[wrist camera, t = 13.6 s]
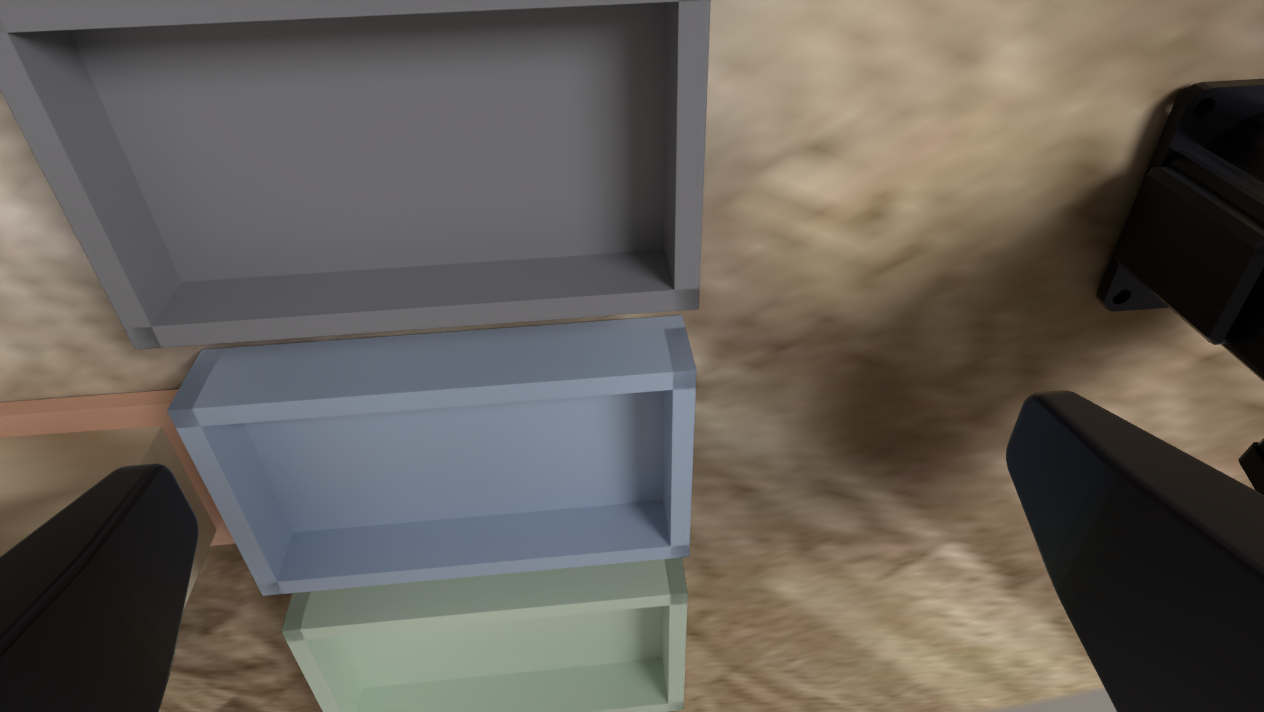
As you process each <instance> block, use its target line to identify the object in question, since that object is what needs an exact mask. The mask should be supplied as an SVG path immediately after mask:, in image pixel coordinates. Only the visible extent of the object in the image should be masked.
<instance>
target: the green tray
mask: <svg viewBox="0 0 1264 712" xmlns="http://www.w3.org/2000/svg"><path fill="white" fill-rule="evenodd" d="M687 600H688V591H687V586H686V580H685V575H684V569H683V563H682V558H670V559H659V560H649V561H638V562H627V563H616V564H605V565H594V566H583V567H572V568H561V569H550V570H539V571H528V572H517V573H507V574H496V575H485V576H474V577H463V578H452V579H441V580H430V581H419V582H408V583H397V584H386V585H375V586H364V587H354V588H343V589H332V590H321V591H310V592H299V593H292V596H291V600H290V603H289V606H288V610H287V613H286V617H285V620H284V623H283V627H282V630H281V632H282V634H283V636H284V638H285V640H286V642H287V644H288V645H289V647H290V649H291V651H292V653H293V655H294V657H295V659H296V661H297V663H298V665H299V667H300V669H301V671H302V672H303V674H304V676H305V678H306V680H307V682H308V684H309V686H310V688H311V690H312V692H313V694H314V696H315V697H316V699H317V701H318V703H319V705H320V707H321V709H322V711H323V712H667V711H677V710H683V704H684V678H685V652H686V626H687Z"/></svg>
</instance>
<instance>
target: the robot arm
mask: <svg viewBox="0 0 1264 712" xmlns="http://www.w3.org/2000/svg"><path fill="white" fill-rule="evenodd" d="M1203 99H1204V101H1203V103H1202V105H1201V106H1200V107H1199V108H1198V109H1197V110H1195V111H1194V108H1195V107H1196V105H1197V104H1198V103H1199V102H1200V101H1202V100H1203ZM1119 291H1120V293H1118V292H1119ZM1116 293H1118V294H1117V295H1115V294H1116ZM1096 297H1097V299H1098V301H1099V302H1100V303H1101V304H1102V305H1103V306H1104V307H1105V308H1106V309H1108V310H1109V311H1127V310H1141V309H1154V308H1168V307H1170V308H1171V309H1172V310H1173V311H1174V312H1175V313H1176V314H1178V315H1179V316H1180V317H1181V318H1182V319H1183V320H1184V321H1186V322H1187V323H1188V324H1189V325H1190V326H1191V327H1192V328H1194V329H1195V330H1196V331H1197V332H1198V333H1199V334H1200V335H1202V336H1203V337H1204V338H1205V339H1206V340H1207V341H1208V342H1210V343H1212V344H1214V345H1219V344H1221V345H1222V346H1223V347H1224V348H1226V349H1227V350H1228V351H1229V352H1230V353H1231V354H1232V355H1234V356H1235V357H1236V358H1237V359H1238V360H1239V361H1241V362H1242V363H1243V364H1244V365H1245V366H1246V367H1248V368H1249V369H1250V370H1251V371H1252V372H1253V373H1254V374H1256V375H1257V376H1258V377H1259V378H1260V379H1261V380H1263V381H1264V79H1252V80H1234V81H1216V82H1201V83H1197V84H1193V85H1192V86H1190V87H1188V88H1187V89H1185V90H1184V91H1183V92H1182V93H1181V94H1180V95H1179V96H1178V98H1177V100H1176V101H1175V103H1174V105H1173V108H1172V110H1171V113H1170V115H1169V118H1168V120H1167V122H1166V125H1165V127H1164V130H1163V132H1162V135H1161V137H1160V139H1159V142H1158V144H1157V147H1156V149H1155V152H1154V154H1153V156H1152V159H1151V161H1150V164H1149V166H1148V169H1147V171H1146V173H1145V176H1144V178H1143V181H1142V183H1141V186H1140V188H1139V190H1138V193H1137V195H1136V198H1135V200H1134V203H1133V205H1132V207H1131V210H1130V212H1129V215H1128V217H1127V220H1126V222H1125V225H1124V227H1123V229H1122V232H1121V234H1120V237H1119V239H1118V242H1117V244H1116V246H1115V249H1114V251H1113V254H1112V256H1111V259H1110V261H1109V263H1108V266H1107V268H1106V271H1105V273H1104V276H1103V278H1102V280H1101V283H1100V285H1099V288H1098V290H1097V295H1096ZM1238 460H1239V463H1240V465H1241V466H1242V468H1243V470H1244V471H1245V473H1246V475H1247V477H1248V478H1249V480H1250V482H1251V483H1252V485H1253V487H1254V488H1255V490H1256V491H1255V490H1253V489H1252V488H1250V487H1248V486H1246V485H1244V484H1242V483H1240V482H1239V481H1237V480H1235V479H1233V478H1231V477H1229V476H1228V475H1226V474H1224V473H1222V472H1220V471H1218V470H1216V469H1215V468H1213V467H1211V466H1209V465H1207V464H1205V463H1204V462H1202V461H1200V460H1198V459H1196V458H1194V457H1192V456H1191V455H1189V454H1187V453H1185V452H1183V451H1181V450H1179V449H1178V448H1176V447H1174V446H1172V445H1170V444H1168V443H1167V442H1165V441H1163V440H1161V439H1159V438H1157V437H1155V436H1154V435H1152V434H1150V433H1148V432H1146V431H1144V430H1143V429H1141V428H1139V427H1137V426H1135V425H1133V424H1131V423H1130V422H1128V421H1126V420H1124V419H1122V418H1120V417H1119V416H1117V415H1115V414H1113V413H1111V412H1109V411H1107V410H1106V409H1104V408H1102V407H1100V406H1098V405H1096V404H1095V403H1093V402H1091V401H1089V400H1087V399H1085V398H1083V397H1082V396H1080V395H1078V394H1076V393H1074V392H1071V391H1064V390H1062V391H1049V392H1037V393H1034V394H1031V395H1030V396H1029V397H1028V398H1027V399H1026V400H1025V401H1024V403H1023V406H1022V408H1021V411H1020V413H1019V416H1018V419H1017V421H1016V424H1015V427H1014V429H1013V432H1012V434H1011V437H1010V440H1009V442H1008V445H1007V450H1006V462H1007V467H1008V470H1009V473H1010V475H1011V478H1012V481H1013V483H1014V486H1015V488H1016V491H1017V494H1018V496H1019V499H1020V501H1021V504H1022V507H1023V509H1024V512H1025V514H1026V517H1027V520H1028V522H1029V525H1030V527H1031V530H1032V533H1033V535H1034V538H1035V540H1036V543H1037V546H1038V548H1039V551H1040V553H1041V556H1042V559H1043V561H1044V564H1045V566H1046V569H1047V571H1048V574H1049V576H1050V579H1051V581H1052V583H1053V586H1054V588H1055V590H1056V593H1057V595H1058V597H1059V599H1060V601H1061V603H1062V605H1063V607H1064V609H1065V611H1066V613H1067V615H1068V617H1069V619H1070V621H1071V623H1072V625H1073V627H1074V629H1075V631H1076V633H1077V635H1078V637H1079V639H1080V641H1081V642H1082V644H1083V646H1084V648H1085V650H1086V652H1087V654H1088V656H1089V658H1090V660H1091V662H1092V664H1093V666H1094V668H1095V670H1096V672H1097V674H1098V676H1099V677H1100V679H1101V681H1102V683H1103V685H1104V687H1105V689H1106V691H1107V693H1108V695H1109V697H1110V699H1111V701H1112V703H1113V705H1114V707H1115V708H1116V711H1117V712H1264V438H1263V439H1262V440H1261V441H1260V443H1259V442H1254V443H1253V444H1252V445H1251V446H1250V447H1249V448H1248V449H1247V450H1246V451H1245V452H1244V454H1243V455H1242V456H1241V457H1240V458H1239V459H1238ZM198 534H199V528H198V522H197V518H196V515H195V513H194V511H193V509H192V507H191V506H190V504H189V502H188V500H187V498H186V496H185V495H184V493H183V491H182V489H181V487H180V485H179V484H178V482H177V480H176V478H175V476H174V475H173V473H172V471H171V470H170V469H169V468H168V467H166V466H165V465H163V464H158V463H154V464H142V465H130V466H124V467H120V468H117V469H115V470H114V471H112V472H111V473H110V474H108V475H107V476H106V477H104V478H103V479H102V480H100V481H99V482H98V483H96V484H95V485H94V486H92V487H91V488H90V489H88V490H87V491H86V492H85V493H83V494H82V495H81V496H79V497H78V498H77V499H75V500H74V501H73V502H71V503H70V504H69V505H67V506H66V507H65V508H63V509H62V510H61V511H60V512H58V513H57V514H56V515H54V516H53V517H52V518H50V519H49V520H48V521H46V522H45V523H44V524H42V525H41V526H40V527H38V528H37V529H36V530H34V531H33V532H32V533H31V534H29V535H28V536H27V537H25V538H24V539H23V540H21V541H20V542H19V543H17V544H16V545H15V546H13V547H12V548H11V549H9V550H8V551H7V552H6V553H4V554H3V555H2V556H0V712H159V708H160V705H161V702H162V699H163V696H164V692H165V689H166V686H167V682H168V679H169V675H170V671H171V667H172V662H173V658H174V654H175V649H176V644H177V639H178V634H179V630H180V625H181V620H182V615H183V610H184V605H185V601H186V596H187V591H188V586H189V581H190V576H191V572H192V567H193V562H194V557H195V552H196V547H197V542H198Z"/></svg>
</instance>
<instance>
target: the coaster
mask: <svg viewBox="0 0 1264 712" xmlns="http://www.w3.org/2000/svg"><path fill="white" fill-rule="evenodd" d="M178 390H179V389H175V390H162V391H149V392H135V393H122V394H109V395H95V396H82V397H68V398H55V399H42V400H28V401H15V402H2V403H0V438H3V437H16V436H30V435H43V434H57V433H70V432H83V431H97V430H110V429H123V428H137V427H150V426H162V427H163V429H164V431H165V433H166V435H167V437H168V439H169V440H170V442H171V444H172V446H173V448H174V450H175V452H176V454H177V456H178V458H179V459H180V461H181V463H182V465H183V467H184V469H185V471H186V473H187V475H188V476H189V478H190V480H191V482H192V484H193V486H194V488H195V490H196V492H197V494H198V495H199V497H200V499H201V501H202V503H203V505H204V507H205V509H206V511H207V513H208V514H209V516H210V518H211V520H212V522H213V524H214V526H215V528H216V530H217V531H216V533H215V536H214V538H213V540H212V543H211V545H210V546H216V545H227V544H236V543H235V541H234V539H233V538H232V536H231V534H230V532H229V530H228V528H227V526H226V524H225V522H224V520H223V518H222V516H221V514H220V512H219V511H218V509H217V507H216V505H215V503H214V501H213V499H212V497H211V495H210V493H209V491H208V489H207V487H206V485H205V484H204V482H203V480H202V478H201V476H200V474H199V472H198V470H197V468H196V466H195V464H194V462H193V460H192V458H191V457H190V455H189V453H188V451H187V449H186V447H185V445H184V443H183V441H182V439H181V437H180V435H179V433H178V431H177V430H176V428H175V426H174V424H173V422H172V420H171V418H170V416H169V414H168V412H167V409H168V408H169V406H170V404H171V402H172V401H173V399H174V397H175V395H176V393H177V392H178Z"/></svg>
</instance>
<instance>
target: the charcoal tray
mask: <svg viewBox="0 0 1264 712" xmlns="http://www.w3.org/2000/svg"><path fill="white" fill-rule="evenodd" d="M710 3H711V0H0V90H1V92H2V94H3V96H4V98H5V100H6V102H7V104H8V106H9V108H10V110H11V112H12V113H13V115H14V117H15V119H16V121H17V123H18V125H19V127H20V129H21V131H22V133H23V135H24V137H25V139H26V140H27V142H28V144H29V146H30V148H31V150H32V152H33V154H34V156H35V158H36V160H37V162H38V164H39V165H40V167H41V169H42V171H43V173H44V175H45V177H46V179H47V181H48V183H49V185H50V187H51V189H52V191H53V192H54V194H55V196H56V198H57V200H58V202H59V204H60V206H61V208H62V210H63V212H64V214H65V216H66V218H67V219H68V221H69V223H70V225H71V227H72V229H73V231H74V233H75V235H76V237H77V239H78V241H79V243H80V245H81V246H82V248H83V250H84V252H85V254H86V256H87V258H88V260H89V262H90V264H91V266H92V268H93V270H94V272H95V273H96V275H97V277H98V279H99V281H100V283H101V285H102V287H103V289H104V291H105V293H106V295H107V297H108V298H109V300H110V302H111V304H112V306H113V308H114V310H115V312H116V314H117V316H118V318H119V320H120V322H121V324H122V325H123V327H124V329H125V331H126V333H127V335H128V337H129V339H130V341H131V343H132V345H133V347H134V349H149V348H163V347H177V346H191V345H205V344H219V343H233V342H247V341H261V340H275V339H289V338H303V337H317V336H331V335H345V334H359V333H373V332H387V331H401V330H415V329H429V328H443V327H457V326H471V325H485V324H499V323H513V322H527V321H541V320H554V319H568V318H582V317H596V316H610V315H624V314H638V313H652V312H666V311H680V310H694V309H699V288H700V262H701V236H702V211H703V185H704V159H705V133H706V107H707V81H708V55H709V29H710Z"/></svg>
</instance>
